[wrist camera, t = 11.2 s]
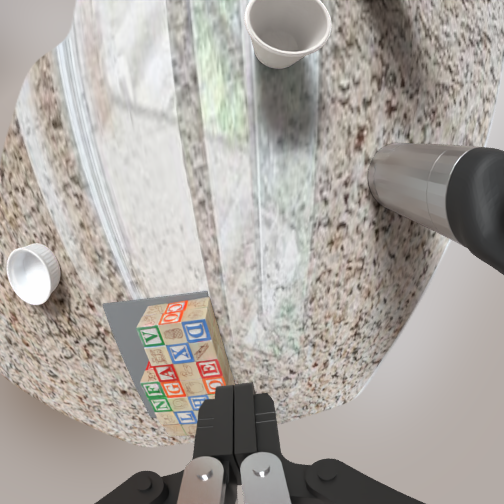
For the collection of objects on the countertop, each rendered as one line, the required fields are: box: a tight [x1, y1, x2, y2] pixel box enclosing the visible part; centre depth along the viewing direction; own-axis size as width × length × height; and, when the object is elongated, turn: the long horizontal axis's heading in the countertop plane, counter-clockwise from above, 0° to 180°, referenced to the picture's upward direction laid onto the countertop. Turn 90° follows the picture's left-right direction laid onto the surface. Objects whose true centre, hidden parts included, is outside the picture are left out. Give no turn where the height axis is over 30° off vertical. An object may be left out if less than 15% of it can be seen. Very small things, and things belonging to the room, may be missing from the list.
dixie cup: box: [244, 0, 332, 69], centre depth 28 cm, size 8×8×10 cm
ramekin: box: [7, 243, 61, 305], centre depth 38 cm, size 9×9×4 cm
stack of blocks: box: [136, 297, 235, 436], centre depth 42 cm, size 21×6×12 cm
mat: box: [103, 291, 208, 418], centre depth 46 cm, size 16×24×1 cm, turn 8°
